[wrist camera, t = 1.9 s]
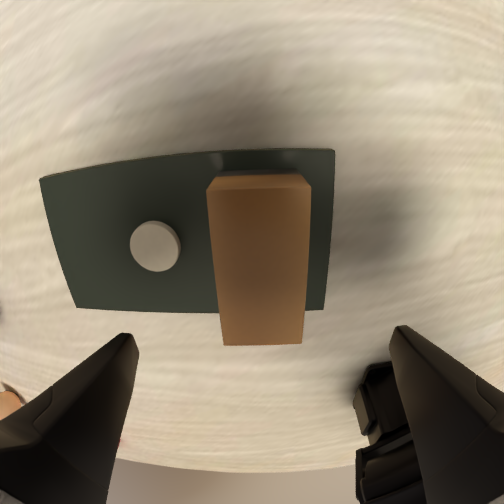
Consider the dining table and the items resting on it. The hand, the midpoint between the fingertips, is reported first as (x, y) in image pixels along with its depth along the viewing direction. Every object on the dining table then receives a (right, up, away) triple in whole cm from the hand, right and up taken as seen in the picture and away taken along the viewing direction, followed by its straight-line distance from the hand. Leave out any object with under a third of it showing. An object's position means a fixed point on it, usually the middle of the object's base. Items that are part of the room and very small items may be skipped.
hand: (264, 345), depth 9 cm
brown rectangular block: (0, +4, +7) cm, 8 cm away
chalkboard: (-5, +4, +8) cm, 10 cm away
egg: (-38, -19, +20) cm, 47 cm away
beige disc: (-6, +3, +7) cm, 10 cm away
